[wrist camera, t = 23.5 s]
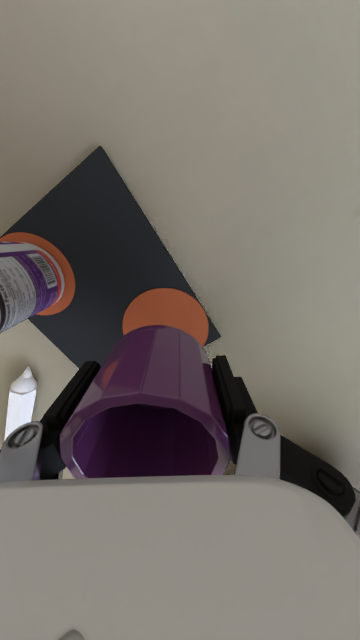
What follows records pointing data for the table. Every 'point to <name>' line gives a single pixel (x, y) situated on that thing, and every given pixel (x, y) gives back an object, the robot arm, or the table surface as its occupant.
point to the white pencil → (20, 401)
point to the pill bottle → (26, 282)
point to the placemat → (105, 265)
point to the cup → (148, 412)
